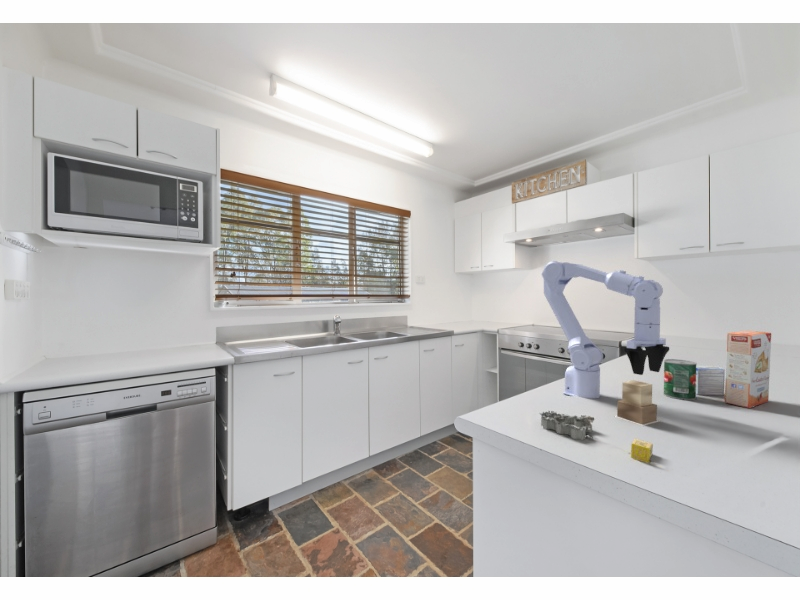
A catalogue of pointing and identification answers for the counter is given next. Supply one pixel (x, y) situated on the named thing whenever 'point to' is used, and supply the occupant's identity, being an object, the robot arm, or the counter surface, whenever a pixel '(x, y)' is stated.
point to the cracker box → (747, 368)
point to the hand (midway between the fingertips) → (646, 372)
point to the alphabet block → (641, 450)
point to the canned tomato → (680, 379)
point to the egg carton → (561, 427)
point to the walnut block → (637, 412)
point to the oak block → (637, 393)
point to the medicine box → (710, 380)
